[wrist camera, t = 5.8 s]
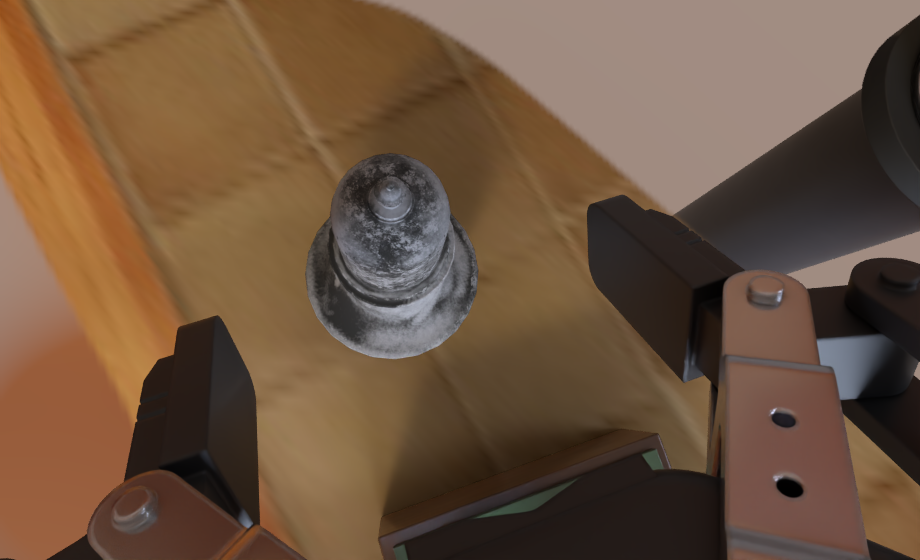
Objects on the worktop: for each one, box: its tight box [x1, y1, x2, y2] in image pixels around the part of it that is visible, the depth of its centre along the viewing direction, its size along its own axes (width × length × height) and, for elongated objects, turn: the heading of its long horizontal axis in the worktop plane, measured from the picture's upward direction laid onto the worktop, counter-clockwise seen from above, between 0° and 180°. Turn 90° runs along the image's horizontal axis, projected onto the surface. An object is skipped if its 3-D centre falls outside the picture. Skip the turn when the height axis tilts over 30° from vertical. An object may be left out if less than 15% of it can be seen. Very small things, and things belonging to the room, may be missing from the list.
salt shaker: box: [305, 153, 478, 359], centre depth 18 cm, size 6×6×12 cm
